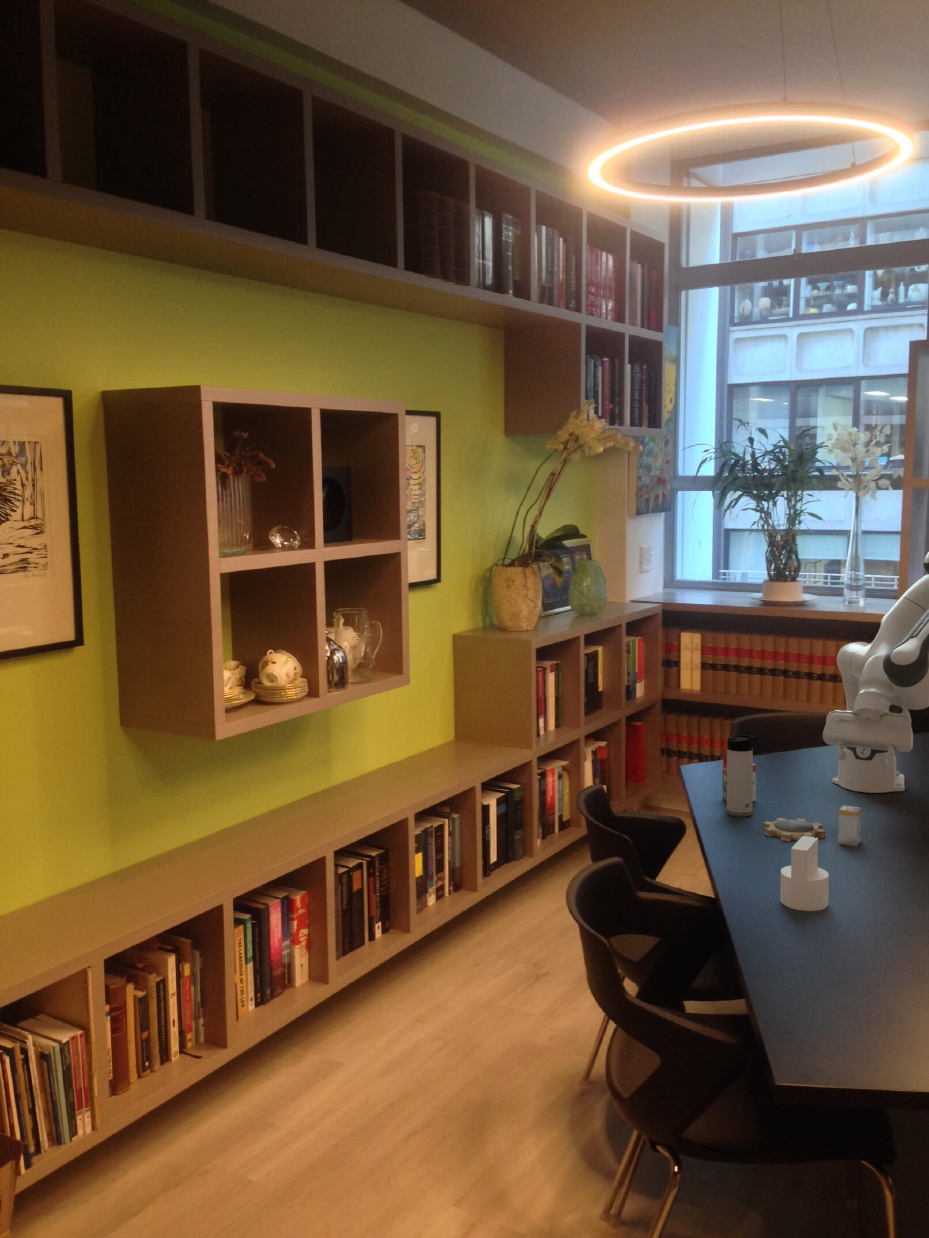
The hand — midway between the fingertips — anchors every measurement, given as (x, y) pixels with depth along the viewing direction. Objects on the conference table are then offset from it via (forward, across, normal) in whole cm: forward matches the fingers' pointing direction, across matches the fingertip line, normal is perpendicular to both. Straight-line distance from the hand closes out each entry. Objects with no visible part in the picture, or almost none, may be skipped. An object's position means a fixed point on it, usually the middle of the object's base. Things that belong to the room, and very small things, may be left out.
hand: (862, 761), depth 250 cm
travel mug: (+12, -29, +12) cm, 34 cm away
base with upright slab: (+48, +1, -25) cm, 54 cm away
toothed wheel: (+18, -13, +5) cm, 23 cm away
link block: (+19, 0, +4) cm, 20 cm away
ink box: (+4, -33, +19) cm, 39 cm away
